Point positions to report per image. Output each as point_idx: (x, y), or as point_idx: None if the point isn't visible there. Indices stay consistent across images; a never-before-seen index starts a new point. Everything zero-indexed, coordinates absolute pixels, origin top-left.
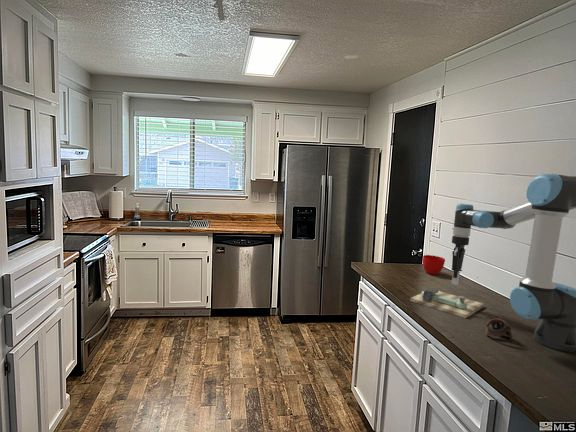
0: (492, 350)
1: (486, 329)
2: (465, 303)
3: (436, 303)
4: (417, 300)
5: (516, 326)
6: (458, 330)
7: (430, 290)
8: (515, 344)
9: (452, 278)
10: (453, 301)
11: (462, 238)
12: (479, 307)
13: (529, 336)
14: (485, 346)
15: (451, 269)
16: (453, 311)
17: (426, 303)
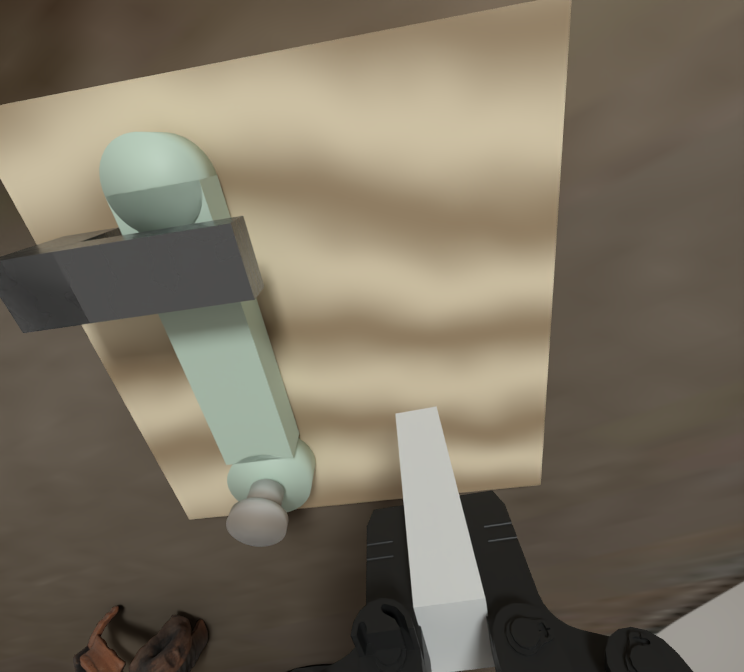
0: (24, 647)
1: (93, 635)
2: (290, 499)
3: (151, 336)
4: (17, 199)
5: None
6: (14, 547)
7: (103, 278)
8: None
9: (401, 471)
10: (229, 447)
11: None
12: None
13: (303, 658)
14: (21, 631)
15: (354, 630)
16: (160, 463)
17: None
